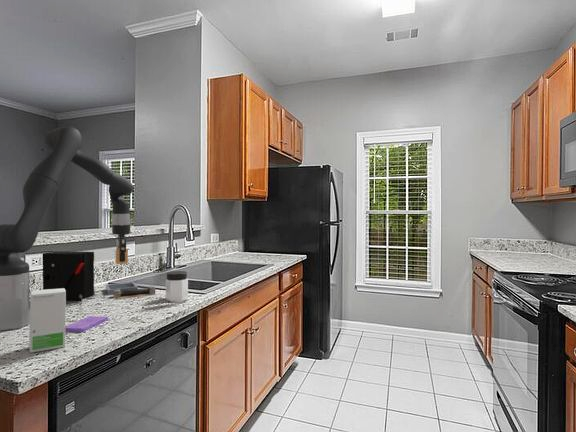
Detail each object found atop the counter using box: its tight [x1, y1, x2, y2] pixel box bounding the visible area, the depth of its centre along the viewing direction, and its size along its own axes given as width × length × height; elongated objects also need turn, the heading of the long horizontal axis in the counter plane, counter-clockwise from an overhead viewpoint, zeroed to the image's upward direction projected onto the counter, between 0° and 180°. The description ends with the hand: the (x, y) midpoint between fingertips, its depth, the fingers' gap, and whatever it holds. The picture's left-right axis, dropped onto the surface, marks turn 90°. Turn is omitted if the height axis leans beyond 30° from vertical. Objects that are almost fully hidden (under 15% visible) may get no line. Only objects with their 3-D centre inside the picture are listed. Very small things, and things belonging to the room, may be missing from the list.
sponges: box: [65, 315, 109, 333], centre depth 116 cm, size 7×13×2 cm, turn 173°
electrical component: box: [42, 250, 96, 302], centre depth 150 cm, size 18×10×20 cm, turn 84°
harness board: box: [112, 285, 157, 300], centre depth 153 cm, size 16×10×4 cm, turn 122°
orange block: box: [114, 248, 129, 265], centre depth 161 cm, size 6×4×6 cm
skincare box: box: [28, 288, 67, 354], centre depth 98 cm, size 8×7×16 cm
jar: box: [165, 270, 189, 305], centre depth 147 cm, size 9×8×12 cm
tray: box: [105, 281, 139, 296], centre depth 161 cm, size 12×12×3 cm
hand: (121, 260), depth 161 cm, fingers closed on orange block, 5 cm apart
